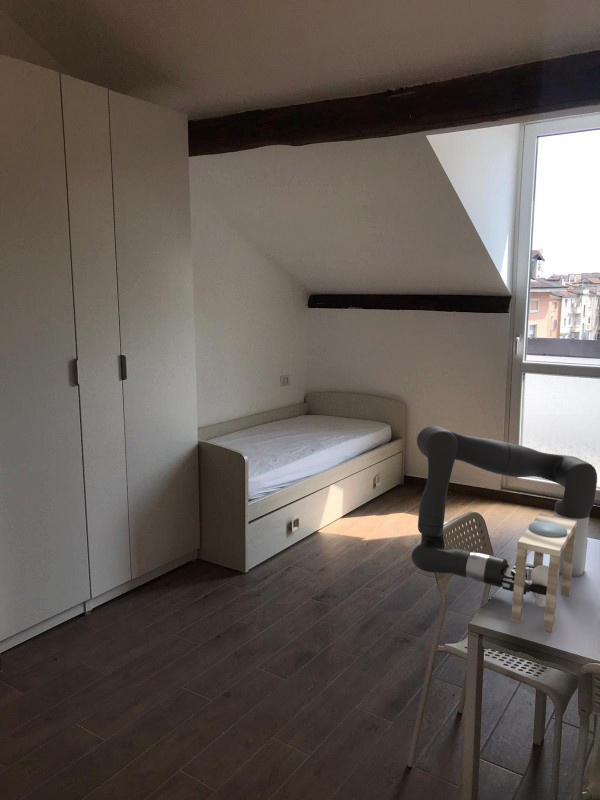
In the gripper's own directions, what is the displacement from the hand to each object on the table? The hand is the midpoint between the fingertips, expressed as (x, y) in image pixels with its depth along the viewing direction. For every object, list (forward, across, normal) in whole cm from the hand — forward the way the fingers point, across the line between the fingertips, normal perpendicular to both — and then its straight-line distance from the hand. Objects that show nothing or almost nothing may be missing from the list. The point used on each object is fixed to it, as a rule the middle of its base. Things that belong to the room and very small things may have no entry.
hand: (550, 584), depth 164 cm
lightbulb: (-2, 0, +7) cm, 7 cm away
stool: (-2, 0, +6) cm, 7 cm away
